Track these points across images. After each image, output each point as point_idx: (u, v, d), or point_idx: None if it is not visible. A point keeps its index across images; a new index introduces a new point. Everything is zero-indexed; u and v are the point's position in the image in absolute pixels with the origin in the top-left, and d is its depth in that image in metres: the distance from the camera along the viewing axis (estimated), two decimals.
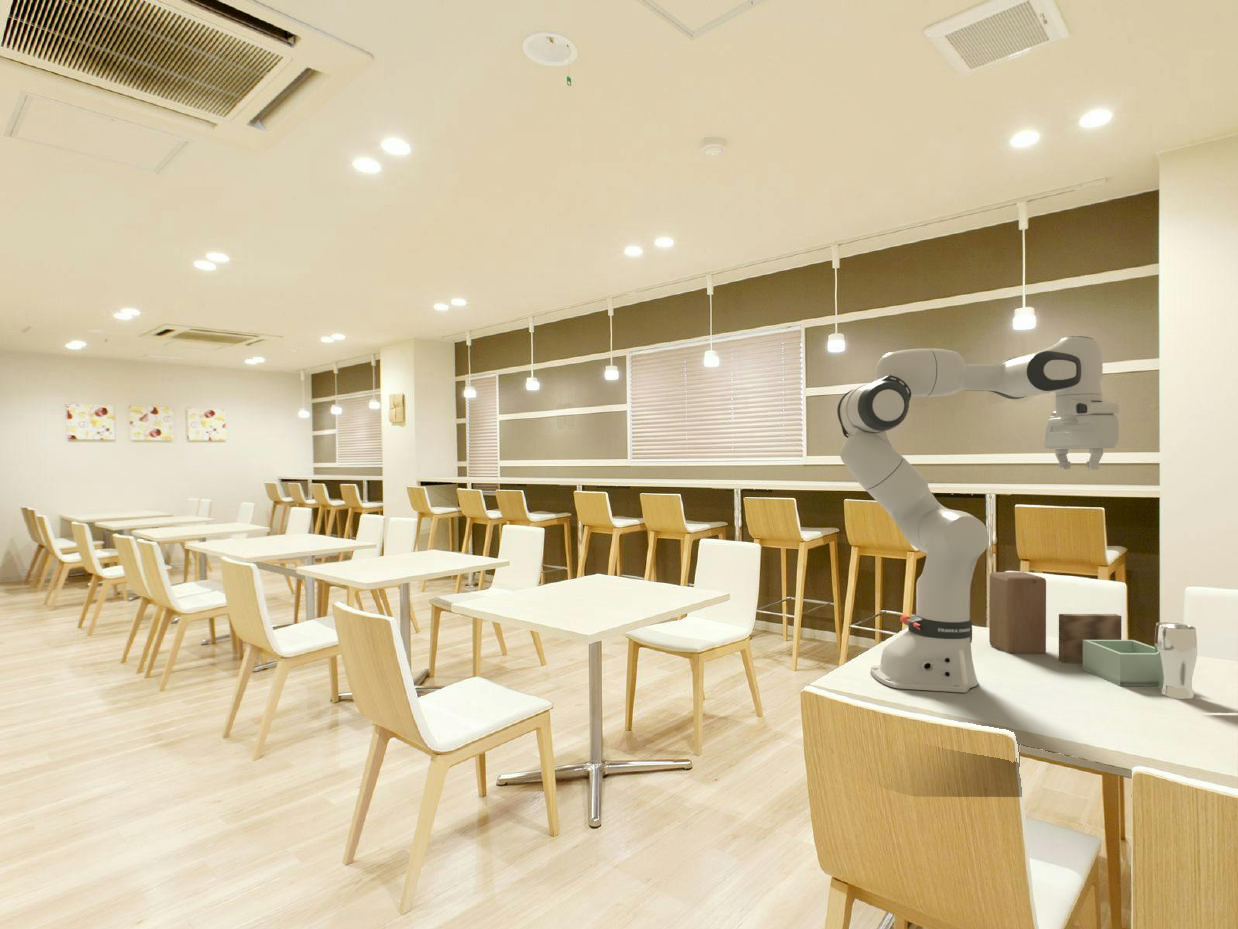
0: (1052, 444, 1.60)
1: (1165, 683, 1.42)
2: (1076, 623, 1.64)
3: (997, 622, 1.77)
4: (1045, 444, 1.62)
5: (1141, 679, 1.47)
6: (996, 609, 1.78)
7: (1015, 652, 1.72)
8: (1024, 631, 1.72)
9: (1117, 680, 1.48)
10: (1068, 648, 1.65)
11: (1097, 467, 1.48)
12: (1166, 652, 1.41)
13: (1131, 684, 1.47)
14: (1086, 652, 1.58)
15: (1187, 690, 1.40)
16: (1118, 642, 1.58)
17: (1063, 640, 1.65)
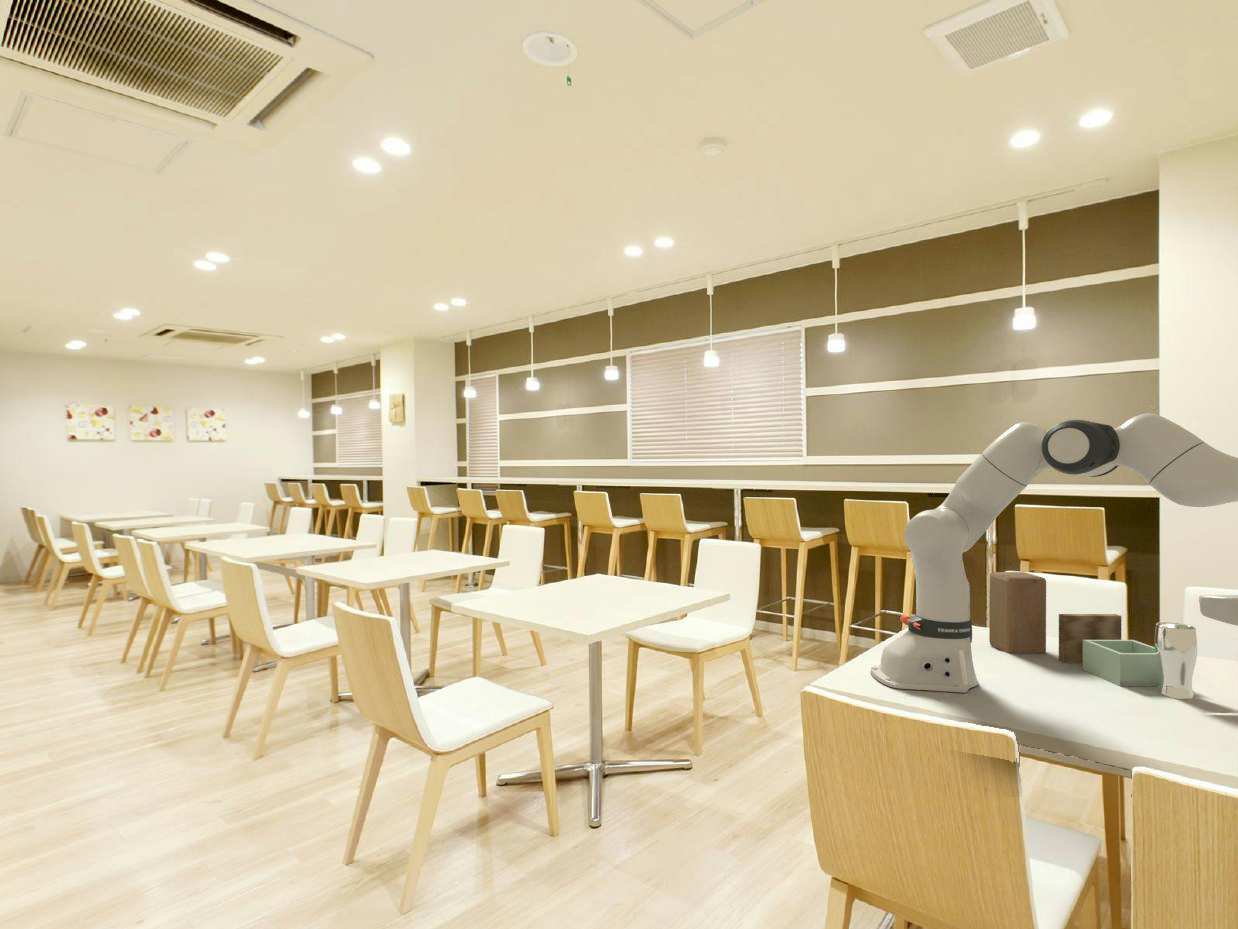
0: None
1: (1165, 683, 1.42)
2: (1076, 623, 1.64)
3: (998, 622, 1.77)
4: None
5: (1141, 679, 1.47)
6: (996, 609, 1.78)
7: (1015, 652, 1.72)
8: (1024, 631, 1.72)
9: (1117, 680, 1.48)
10: (1068, 648, 1.65)
11: None
12: (1166, 652, 1.41)
13: (1131, 684, 1.47)
14: (1086, 652, 1.58)
15: (1187, 690, 1.40)
16: (1118, 642, 1.58)
17: (1063, 640, 1.65)
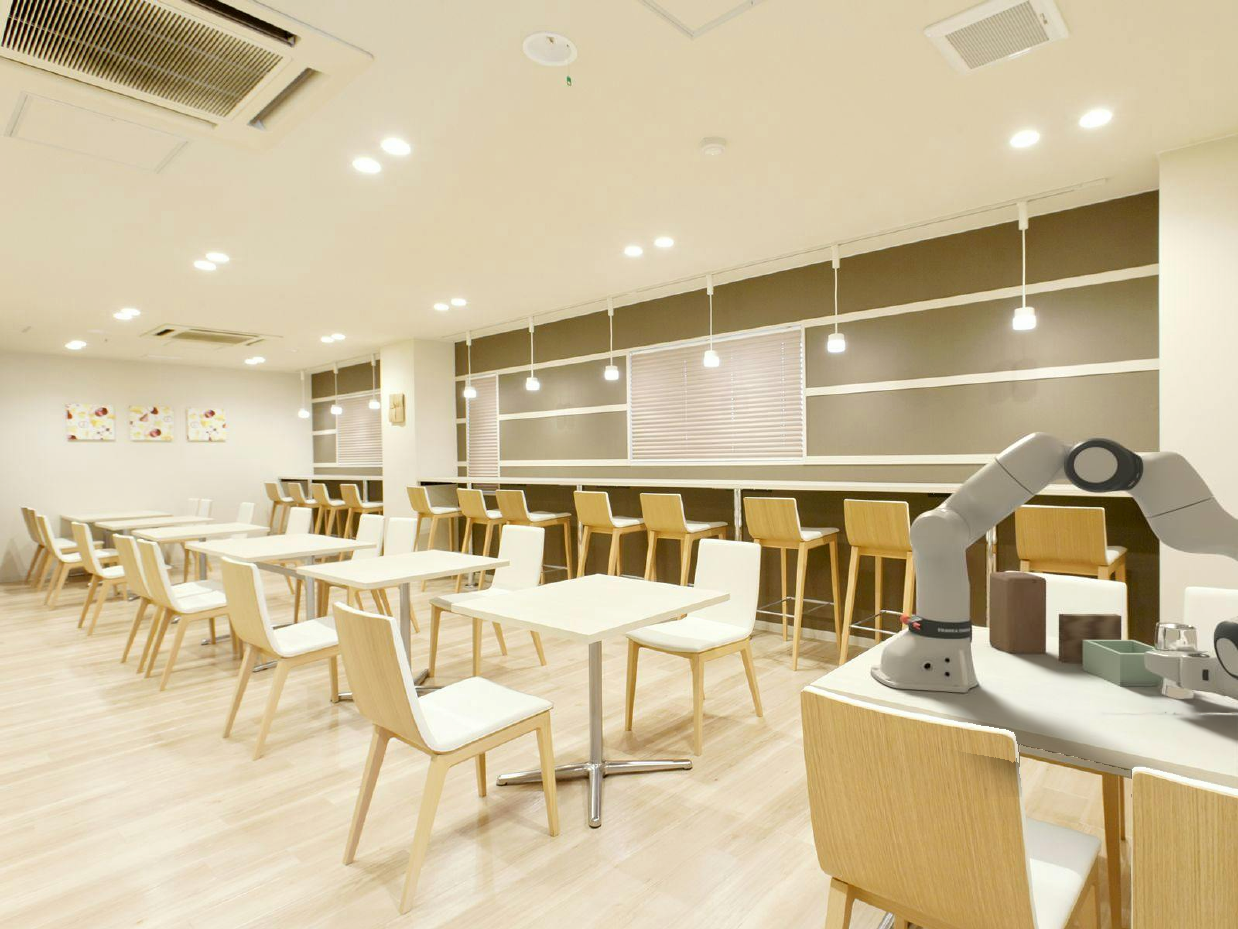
0: None
1: (1165, 683, 1.42)
2: (1076, 623, 1.64)
3: (998, 622, 1.77)
4: None
5: (1141, 679, 1.47)
6: (996, 609, 1.78)
7: (1015, 652, 1.72)
8: (1024, 631, 1.72)
9: (1117, 680, 1.48)
10: (1068, 648, 1.65)
11: None
12: None
13: (1131, 684, 1.47)
14: (1086, 652, 1.58)
15: (1187, 690, 1.40)
16: (1118, 642, 1.58)
17: (1063, 640, 1.65)
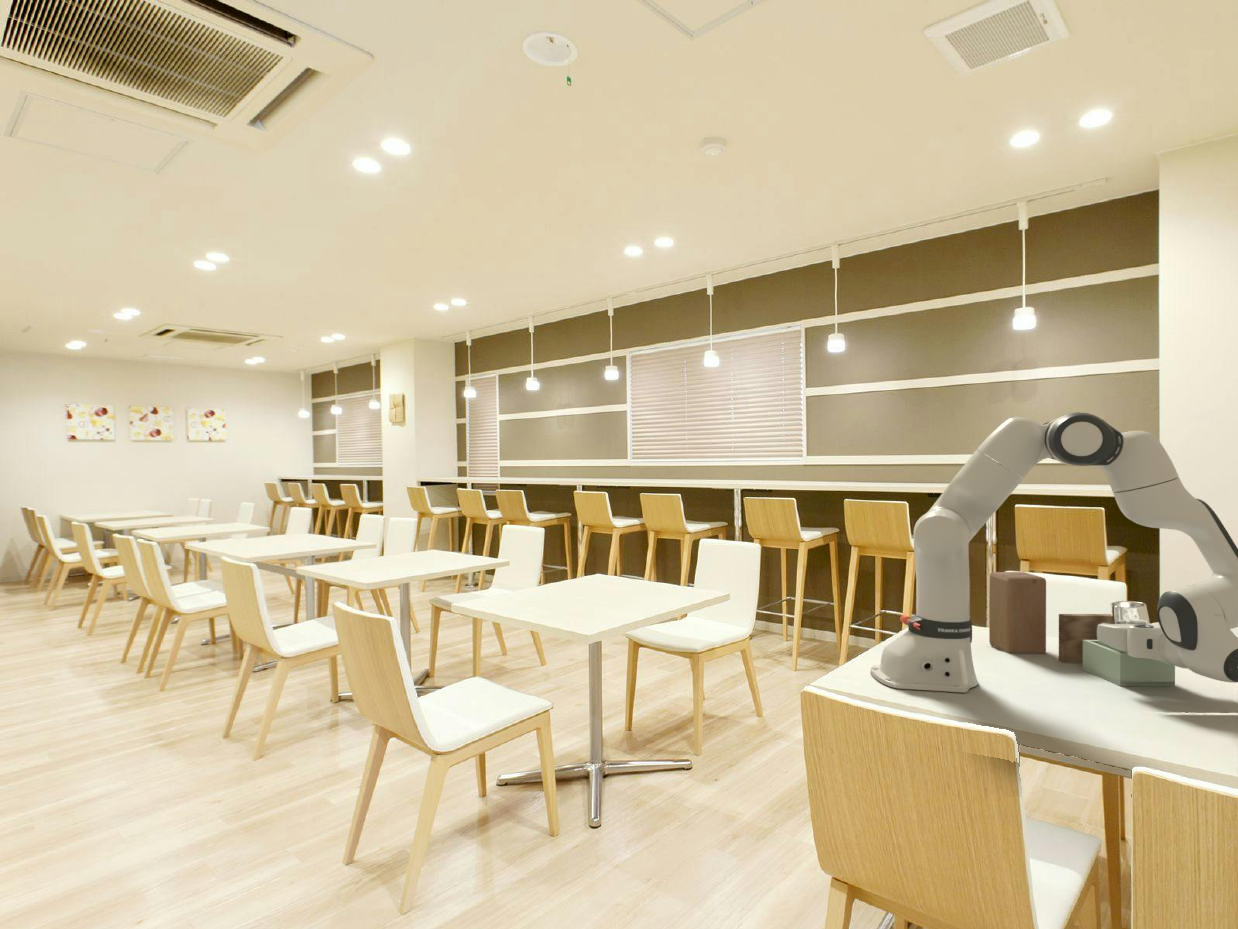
0: None
1: None
2: (1076, 623, 1.64)
3: (998, 622, 1.77)
4: None
5: (1141, 679, 1.47)
6: (996, 609, 1.78)
7: (1015, 652, 1.72)
8: (1024, 631, 1.72)
9: (1117, 680, 1.48)
10: (1068, 648, 1.65)
11: None
12: None
13: (1131, 684, 1.47)
14: (1086, 652, 1.58)
15: None
16: None
17: (1063, 640, 1.65)
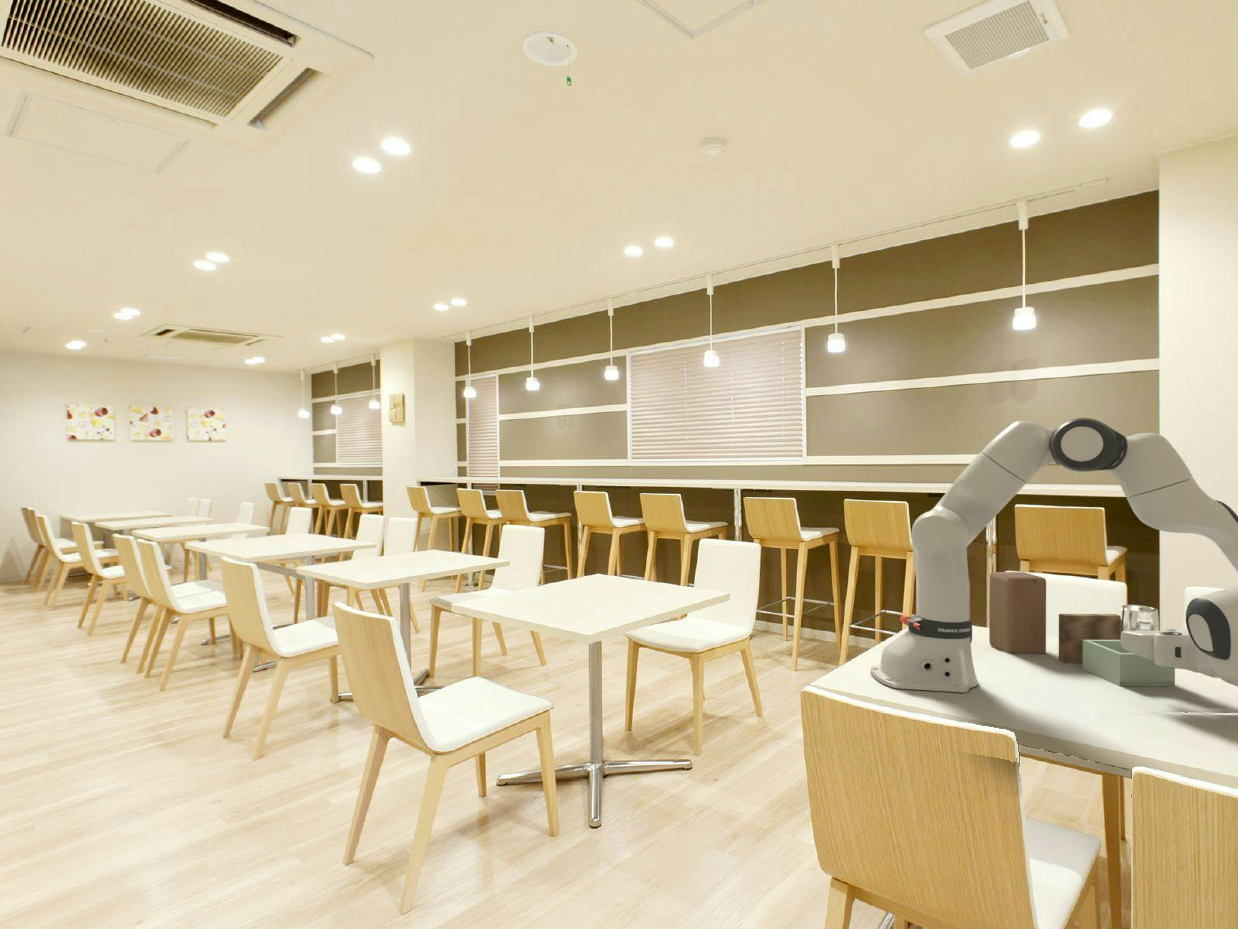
0: None
1: None
2: (1076, 623, 1.64)
3: (998, 622, 1.77)
4: None
5: (1141, 679, 1.47)
6: (996, 609, 1.78)
7: (1015, 652, 1.72)
8: (1024, 631, 1.72)
9: (1117, 680, 1.48)
10: (1068, 648, 1.65)
11: None
12: None
13: (1131, 684, 1.47)
14: (1085, 652, 1.58)
15: None
16: (1118, 642, 1.58)
17: (1063, 640, 1.65)
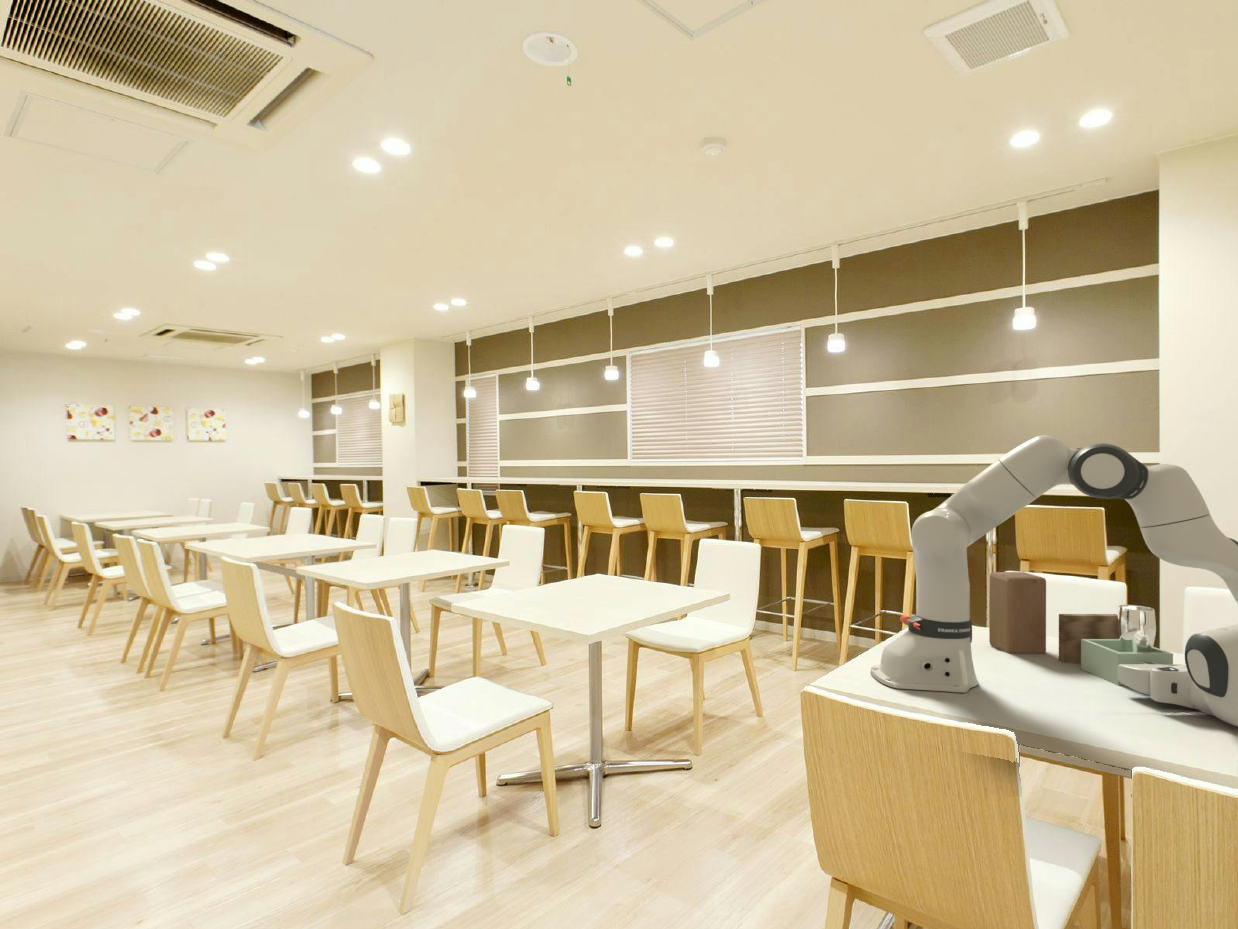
0: None
1: None
2: (1076, 623, 1.64)
3: (998, 622, 1.77)
4: None
5: None
6: (996, 609, 1.78)
7: (1015, 652, 1.72)
8: (1024, 631, 1.72)
9: (1115, 679, 1.49)
10: (1068, 648, 1.65)
11: None
12: (1128, 632, 1.51)
13: None
14: (1084, 651, 1.59)
15: None
16: (1116, 641, 1.59)
17: (1063, 640, 1.65)
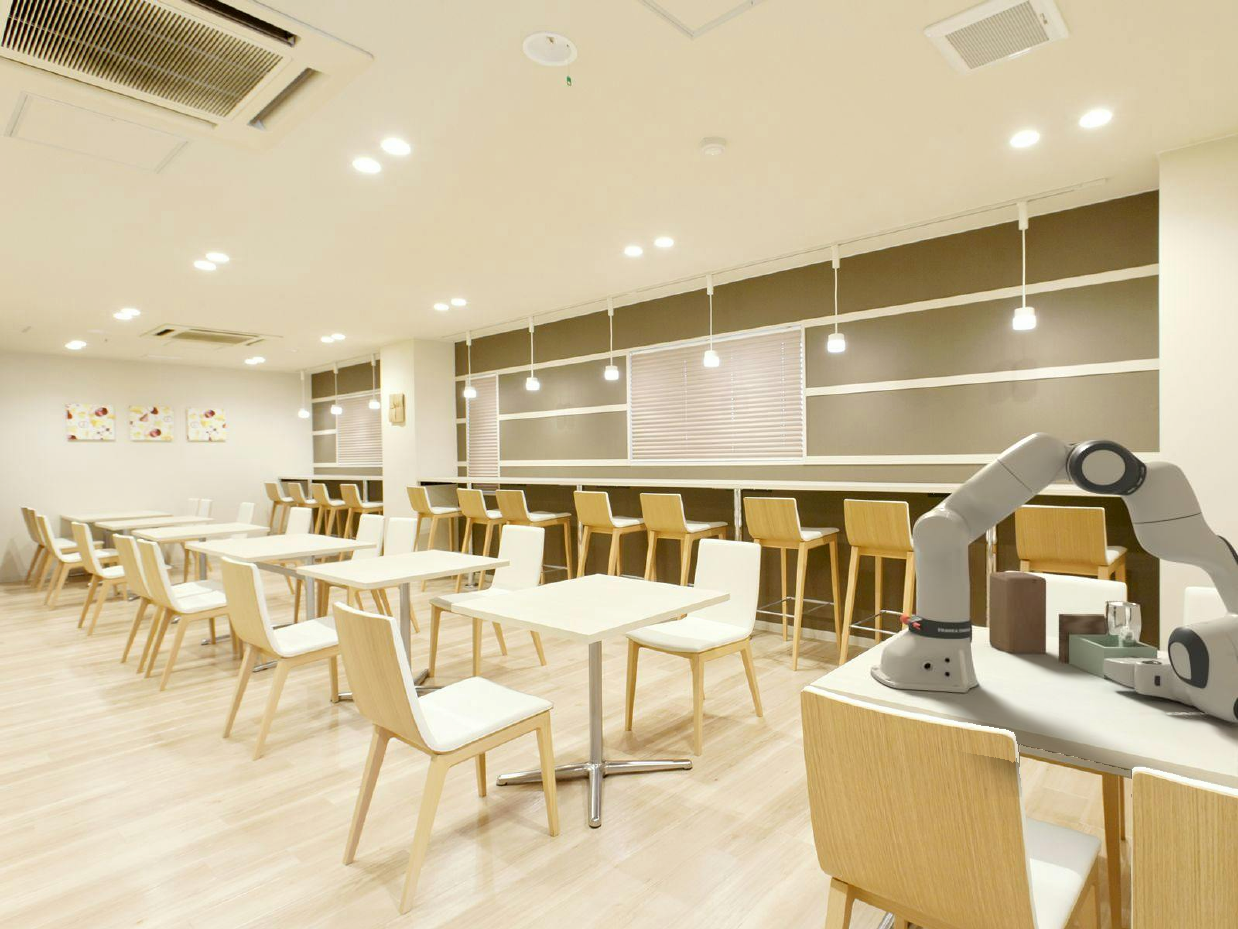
0: None
1: None
2: (1076, 623, 1.64)
3: (998, 622, 1.77)
4: None
5: None
6: (996, 609, 1.78)
7: (1015, 652, 1.72)
8: (1024, 631, 1.72)
9: (1102, 673, 1.53)
10: (1068, 648, 1.65)
11: None
12: (1114, 627, 1.56)
13: None
14: (1072, 646, 1.63)
15: None
16: (1103, 636, 1.63)
17: (1063, 640, 1.65)
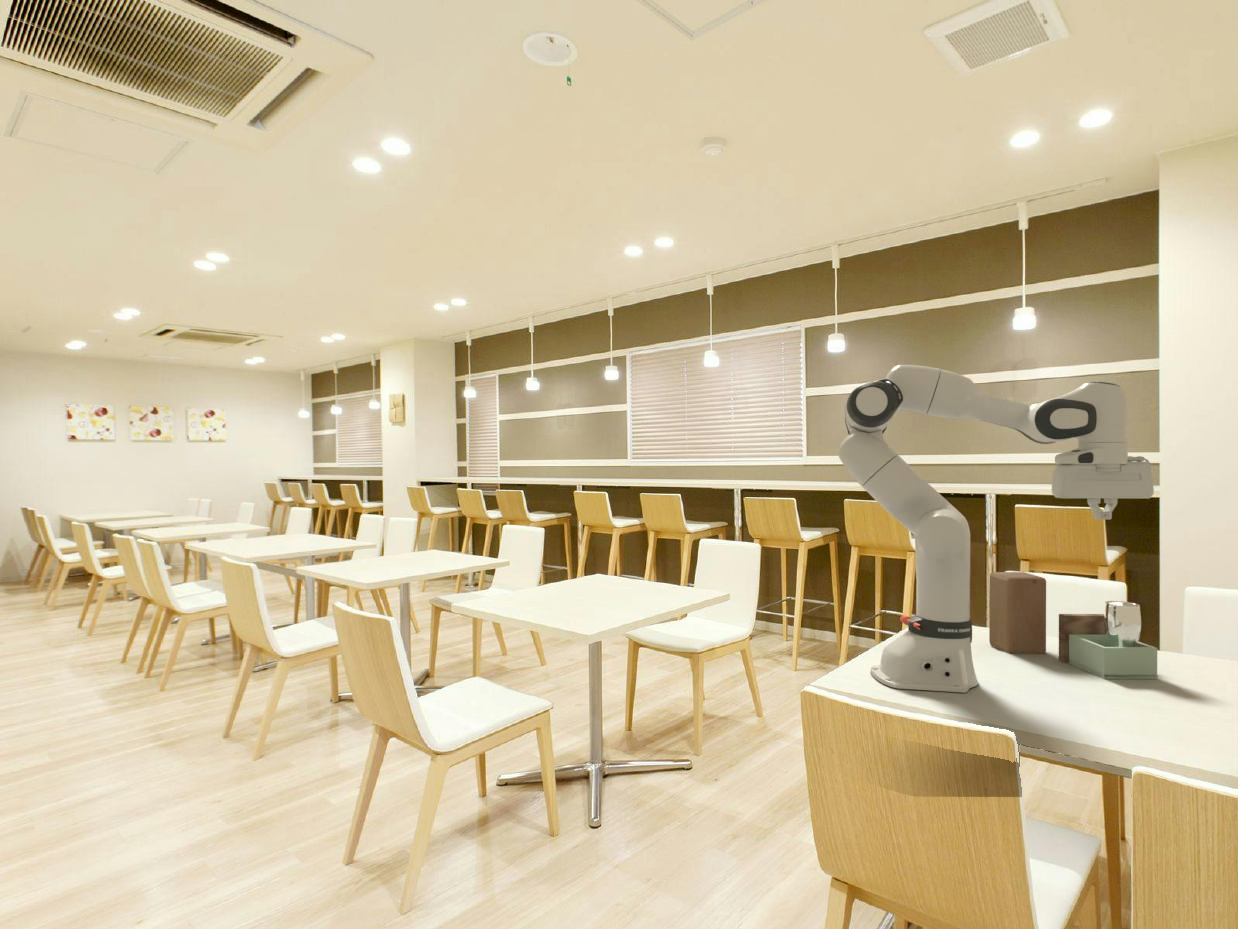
0: None
1: None
2: (1076, 623, 1.64)
3: (998, 622, 1.77)
4: None
5: (1124, 672, 1.52)
6: (996, 609, 1.78)
7: (1015, 652, 1.72)
8: (1024, 631, 1.72)
9: (1101, 673, 1.53)
10: (1068, 648, 1.65)
11: (1097, 517, 1.47)
12: (1114, 627, 1.56)
13: (1114, 677, 1.52)
14: (1072, 646, 1.63)
15: None
16: (1103, 636, 1.63)
17: (1063, 640, 1.65)
